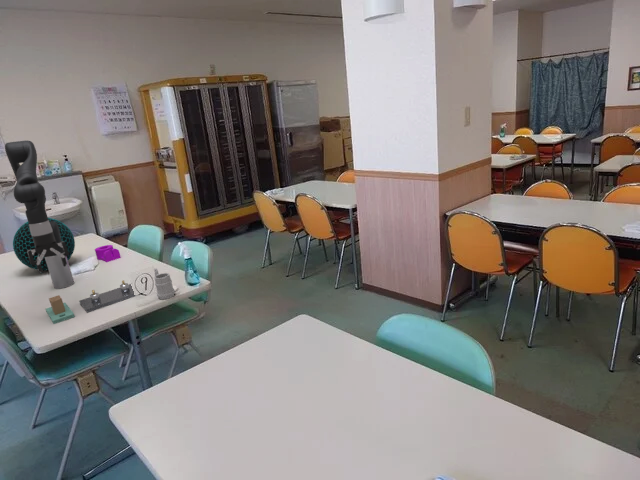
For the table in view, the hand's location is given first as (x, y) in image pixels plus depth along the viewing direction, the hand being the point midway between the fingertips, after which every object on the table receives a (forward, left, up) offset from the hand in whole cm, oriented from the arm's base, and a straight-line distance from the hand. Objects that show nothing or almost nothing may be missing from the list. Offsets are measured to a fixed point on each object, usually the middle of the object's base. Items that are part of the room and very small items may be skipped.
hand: (53, 269), depth 189 cm
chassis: (+1, +19, -20) cm, 28 cm away
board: (-1, -2, -20) cm, 20 cm away
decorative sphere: (-81, +8, -20) cm, 84 cm away
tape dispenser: (-69, +36, -21) cm, 80 cm away
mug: (+19, +37, -21) cm, 46 cm away
